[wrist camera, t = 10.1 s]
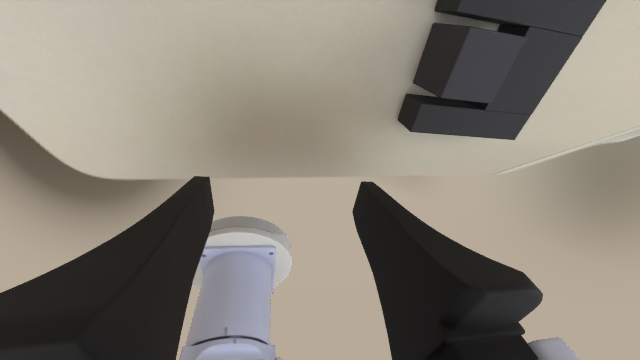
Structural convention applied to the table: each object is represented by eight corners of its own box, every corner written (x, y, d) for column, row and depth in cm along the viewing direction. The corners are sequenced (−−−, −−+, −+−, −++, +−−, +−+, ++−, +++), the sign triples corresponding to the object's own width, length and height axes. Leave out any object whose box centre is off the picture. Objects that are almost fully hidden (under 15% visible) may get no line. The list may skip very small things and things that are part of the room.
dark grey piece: (493, 128, 23) (514, 140, 21) (397, 120, 21) (410, 132, 19) (570, -3, 17) (610, -5, 15) (448, -33, 15) (475, -39, 13)
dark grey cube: (456, 88, 20) (491, 103, 16) (412, 82, 19) (440, 98, 16) (481, 31, 17) (527, 37, 14) (433, 22, 17) (471, 26, 13)
